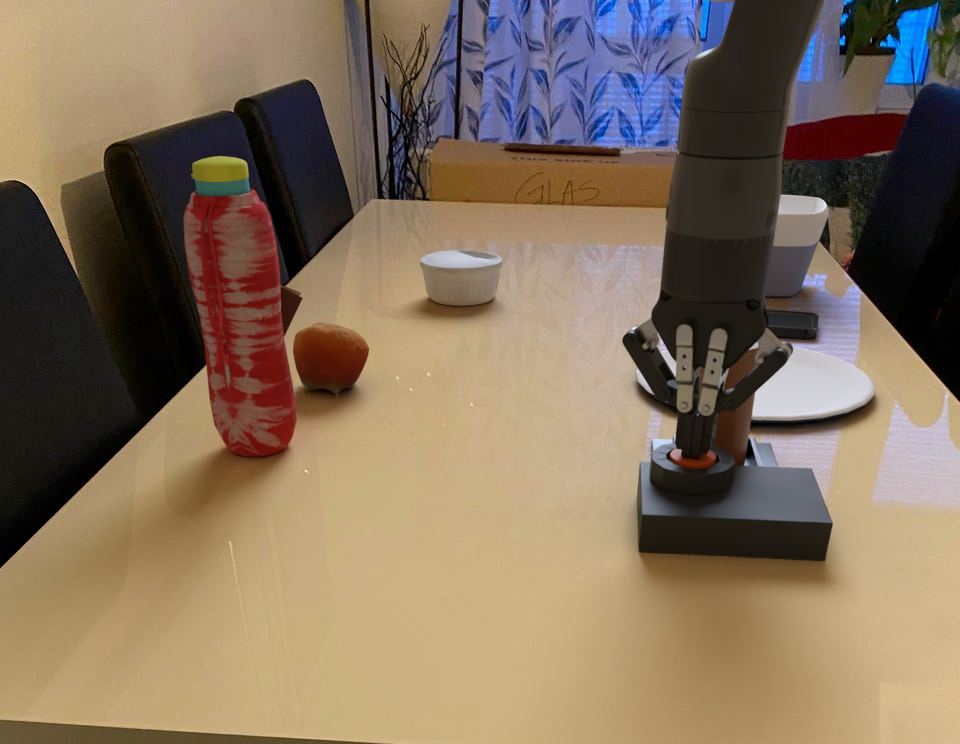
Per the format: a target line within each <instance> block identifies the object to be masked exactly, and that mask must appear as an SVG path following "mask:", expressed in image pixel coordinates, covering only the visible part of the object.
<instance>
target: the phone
mask: <svg viewBox="0 0 960 744" xmlns="http://www.w3.org/2000/svg"><path fill="white" fill-rule="evenodd" d="M766 311H767V314H768V316H769V325H768V329H769V330H770V331H771V332H772V333H773V334H774V335H775V336H776V337H780V338H792V339H807V340H810V339H815V338H817V335H818V330H819V320H820V319H819V318H820V315H819V314H818V313H817V312H810V311H809V312H808V311H798V310H797V311H796V310H781V309H767V308H766Z"/></svg>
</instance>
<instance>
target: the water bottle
mask: <svg viewBox="0 0 960 744" xmlns="http://www.w3.org/2000/svg"><path fill="white" fill-rule="evenodd" d="M191 169H192V173H191V174H190V176H191V179H193V180H194V183H195V189H196V190H195V191H193V192H192V193H191V194H190V198H189V202H188V204H187V205H186V206H185V210H184V214H183V235H184V249H185V254H186V261H187V268H188V274H189V281H190V284H191V289H192V292H193V297H194V299H195V304H196V308H197V312H198V315H199V321H200V327H201V333H202V339H203V344H204V352H205V364H206V377H207V387H208V396H209V397H208V398H209V404H210V409H211V414H212V420H213V425H214V427H215V429H216V431H217V433H218V435H219V436H220V438H221V440H222V442H223V443H224V445H225V446H226V448H227V449H228V450H229V451H230V452H231V453H232V454H236V455H238V456H243V457H251V458H254V457H255V458H259V457H260V458H261V457H265V456H272V455H275V454H277V453H279V452H281V451H283V450H285V449H287V448H288V446H289V444H290V443H291V440H292V439H293V436H294V434H295V433H294V432H295V428H296V424H297V420H298V417H297V407H296V395H295V389H294V384H293V378H292V374H291V373H292V372H291V368H290V361H289V357H288V352H287V347H286V341H285V336H286V335H287V332H288V330H289V328H290V326H291V324H292V322H293V319H294V318H295V315H296V313H297V311H298V309H299V307H300V305H301V303H302V301H303V297H302V296H300V295H301V291H298V290H296V289H293V288H290V287H288V286H285V285H283V284H281V270H280V261H279V254H278V245H277V239H276V235H275V231H274V226H273V222H272V217H271V213H270V211H269V210H268V208H267V206H266V204H265V202H264V201H262V200H261V199H260V197H259V194H258V193H257V191H256V190H254V189H253V188H250V187H251V186H250V181H249V177H250V174H249V173H250V172H249V166H248V163H247V161H246V160H244V159H242V158H238V157H232V156H223V155H217V156H211V157H210V156H209V157H206V158H201V159H199V160H196V161H194V162H192V165H191Z"/></svg>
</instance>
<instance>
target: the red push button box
mask: <svg viewBox="0 0 960 744" xmlns="http://www.w3.org/2000/svg"><path fill="white" fill-rule="evenodd" d="M674 449H676V445H675V443H670V444H665V445H661V446H660V447H658V448H657V449H655V450H654V451H652V450H651V453H650V461H639V466H638V467H639V468H638V477H637V479H638V481H637V492H636V507H637V508H636V510H637V513H636V514H637V540H638V541H637V543H638V544H637V545H638V546H637V547H638V552H639V553H655V554H657V553H659V554H675V555H678V554H680V555H696V556H698V555H699V556H719V557H739V558H757V559H758V558H759V559H760V558H761V559H778V560H779V559H781V560H782V559H783V560H801V561H821V562H823V561H826V558H827V554H828V548H829V544H830V540H831V534H832V530H833V526H834V522H833V519H832V518H831V515H830V512H829V510H828V507H827V503H826V502H825V499H824V497H823V494H822V491H821V489H820V487H819V484H818V482H817V479H816V475H815V474H814V472H813V471H814V470H813V468H812V467H792V466H791V467H788V466H778V467H766V466H740V465H735V460H734V456H733V454H731V453H729V452H728V451H726V450H724V449H723V448H721V447H718V446H714V445H712V447H711V449H710V451H712V452H713V453H714V454H715V455H716V463H715V465H714V466H712V467H707V468H702V469H700V468H686V467H682V466H678V465H675V464H673V463H672V462H670V453H671V452H672V451H673V450H674Z"/></svg>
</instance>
